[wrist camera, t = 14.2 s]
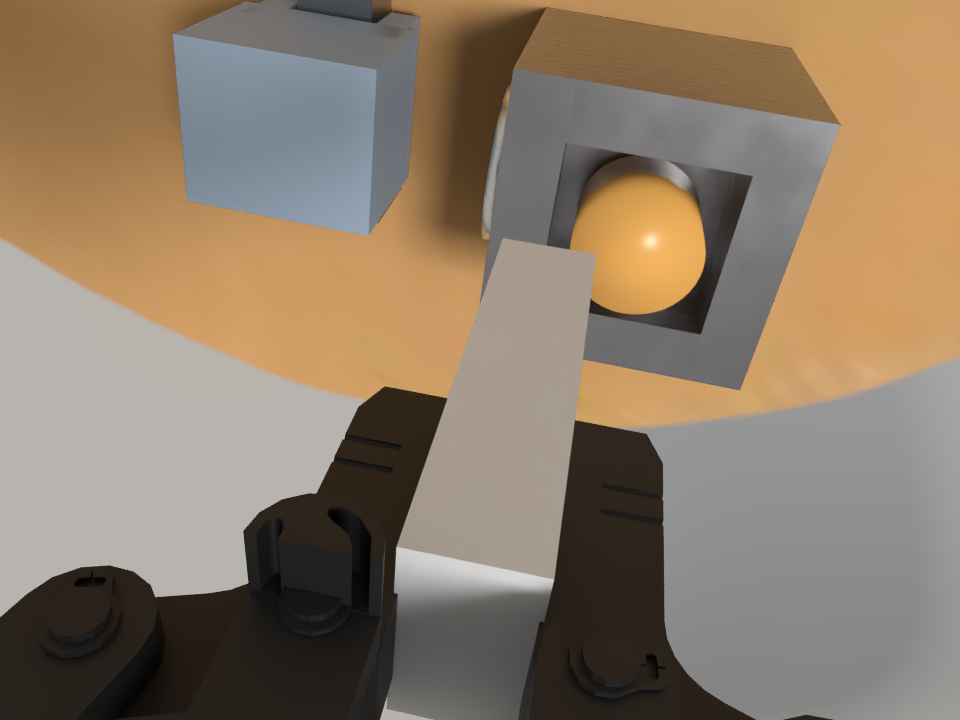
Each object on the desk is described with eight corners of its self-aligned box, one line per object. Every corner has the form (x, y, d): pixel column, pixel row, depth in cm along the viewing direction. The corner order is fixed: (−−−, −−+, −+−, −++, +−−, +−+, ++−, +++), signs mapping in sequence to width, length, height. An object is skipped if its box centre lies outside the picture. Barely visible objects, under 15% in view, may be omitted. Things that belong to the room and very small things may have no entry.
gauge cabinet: (531, 5, 33) (494, 64, 25) (792, 48, 33) (840, 124, 24) (499, 226, 39) (459, 334, 31) (720, 268, 38) (739, 390, 30)
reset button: (589, 145, 29) (583, 181, 26) (715, 167, 28) (722, 206, 25) (567, 256, 31) (558, 301, 28) (681, 278, 31) (685, 325, 28)
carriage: (268, -9, 34) (172, 33, 27) (432, 19, 33) (376, 69, 27) (271, 131, 37) (187, 200, 30) (420, 158, 37) (368, 235, 30)
